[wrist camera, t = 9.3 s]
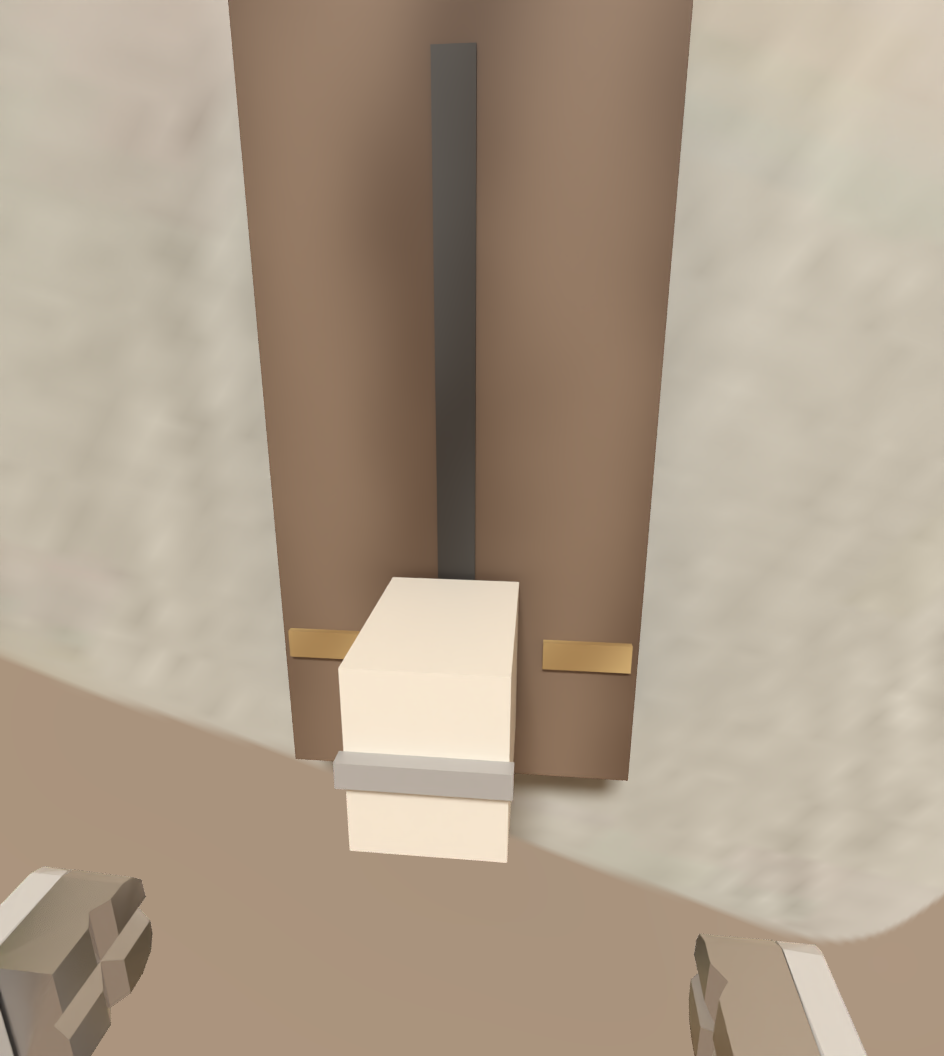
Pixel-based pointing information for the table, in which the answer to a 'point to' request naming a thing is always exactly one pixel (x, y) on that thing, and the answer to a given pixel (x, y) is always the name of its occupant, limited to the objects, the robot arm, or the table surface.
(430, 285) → the brown slider board
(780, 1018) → the robot arm
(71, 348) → the table surface
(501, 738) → the fader tab
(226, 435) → the table surface
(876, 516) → the table surface
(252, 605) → the table surface
